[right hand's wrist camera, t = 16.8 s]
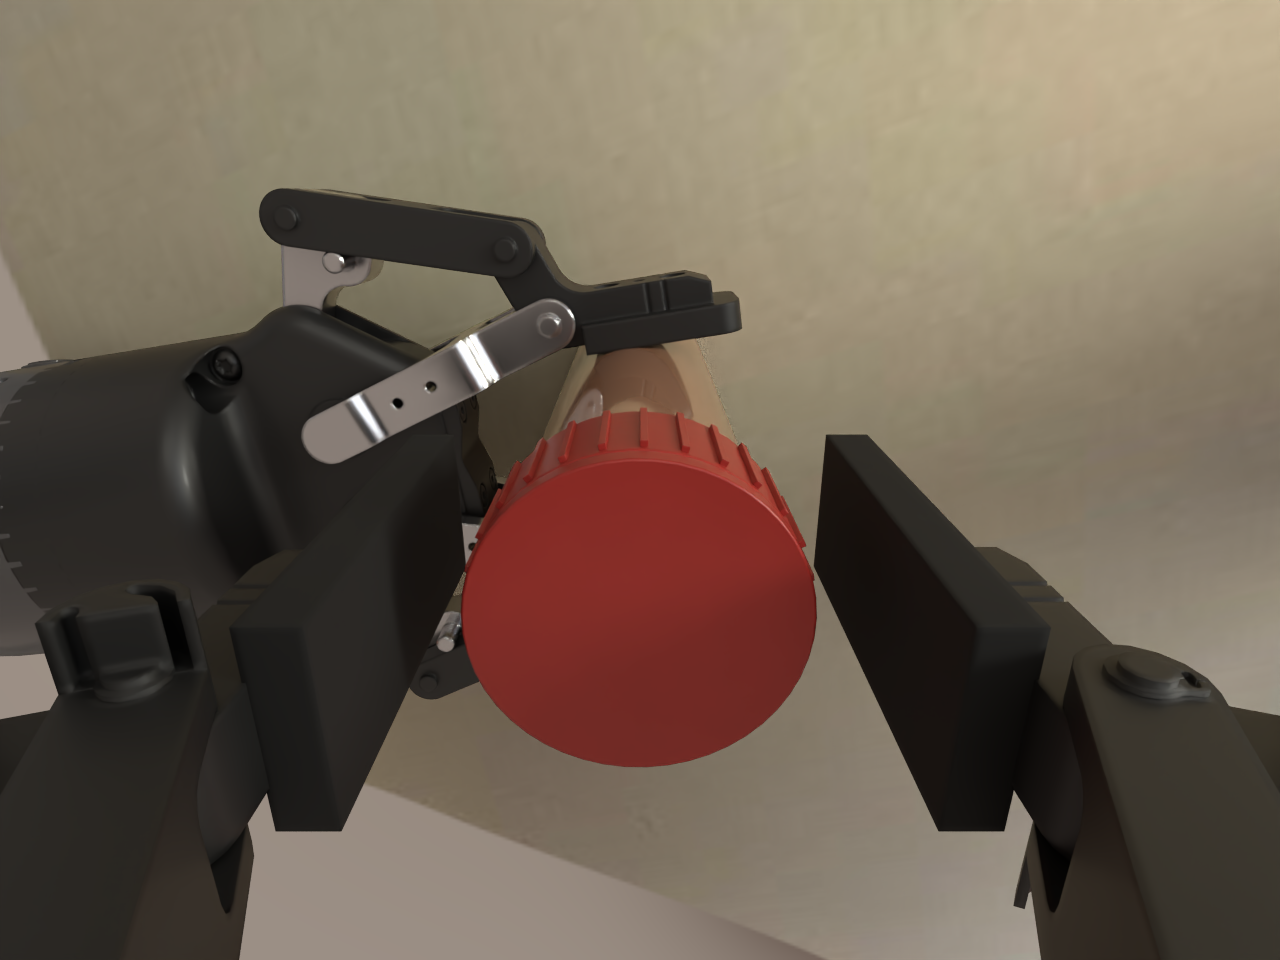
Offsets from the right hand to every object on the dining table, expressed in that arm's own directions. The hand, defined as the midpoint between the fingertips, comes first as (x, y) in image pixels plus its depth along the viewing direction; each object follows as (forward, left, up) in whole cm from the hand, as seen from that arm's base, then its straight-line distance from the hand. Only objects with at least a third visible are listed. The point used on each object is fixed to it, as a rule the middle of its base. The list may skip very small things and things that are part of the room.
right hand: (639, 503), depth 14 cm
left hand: (-1, +2, -5) cm, 6 cm away
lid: (0, 0, +4) cm, 4 cm away
